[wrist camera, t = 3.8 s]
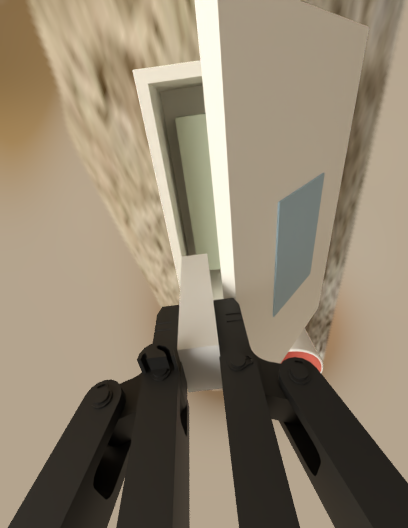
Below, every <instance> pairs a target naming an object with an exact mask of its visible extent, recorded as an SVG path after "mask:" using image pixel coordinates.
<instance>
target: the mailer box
mask: <svg viewBox="0 0 408 528" xmlns="http://www.w3.org/2000/svg"><path fill="white" fill-rule="evenodd" d="M133 74H134V79H135V84H136V88H137V93H138V97H139V102H140V107H141V111H142V116H143V121H144V125H145V130H146V134H147V139H148V144H149V148H150V153H151V157H152V162H153V167H154V171H155V176H156V181H157V185H158V190H159V194H160V199H161V204H162V208H163V213H164V217H165V222H166V227H167V231H168V236H169V240H170V245H171V250H172V254H173V259H174V264H175V268H176V273H177V277H178V282H179V287H180V283H181V263H182V257H183V256H191V255H198V254H206V253H207V256H208V263H209V271H210V279H211V287H212V295H213V300H218V299H224V298H223V288H222V277H221V267H220V257H219V246H218V236H217V226H216V215H215V205H214V195H213V185H212V174H211V164H210V154H209V143H208V133H207V123H206V112H205V102H204V92H203V81H202V71H201V61H200V60H199V61H192V62H185V63H178V64H171V65H164V66H157V67H150V68H143V69H136V70H133Z"/></svg>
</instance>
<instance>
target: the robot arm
mask: <svg viewBox="0 0 408 528" xmlns="http://www.w3.org/2000/svg"><path fill="white" fill-rule="evenodd" d="M137 361H138V363H139V366H140V368H141V371H142V373H141V374H139V375H138V376H136V377H134V378H133V379H130V380H128V381H126V382H123V383H121V384H118V382H116V381H114V380H104V381H102V382H99V383H98V384H96V385H95V386H94V387H92V388H91V389H90V390H89V391H88V393H87V394H86V395H85V397H84V399H83V401H82V402H81V404H80V406H79V407H78V409H77V411H76V412H75V414H74V416H73V418H72V419H71V421H70V423H69V424H68V426H67V428H66V429H65V431H64V433H63V434H62V436H61V438H60V440H59V441H58V443H57V445H56V446H55V448H54V450H53V452H52V453H51V455H50V457H49V458H48V460H47V462H46V463H45V465H44V467H43V469H42V470H41V472H40V474H39V475H38V477H37V479H36V481H35V482H34V484H33V486H32V487H31V489H30V491H29V492H28V494H27V496H26V498H25V500H24V501H23V503H22V504H21V506H20V508H19V509H18V511H17V513H16V515H15V516H14V518H13V520H12V521H11V523H10V525H9V527H8V528H107V526H108V523H109V520H110V517H111V515H112V512H113V509H114V506H115V503H116V500H117V497H118V495H119V492H120V489H121V486H122V484H123V481H124V478H125V481H124V487H123V492H122V498H121V504H120V510H119V516H118V521H117V527H116V528H189V405H188V400H187V388H188V392H195V391H203V390H213V389H221V388H223V395H224V403H225V412H226V419H227V428H228V437H229V446H230V454H231V463H232V471H233V479H234V487H235V496H236V505H237V513H238V521H239V528H300V526H299V522H298V518H297V515H296V511H295V507H294V504H293V499H292V495H291V492H290V488H289V484H288V480H287V476H286V473H285V469H284V465H283V461H282V457H281V454H280V450H279V446H278V442H277V438H276V435H275V431H274V427H273V424H272V420H271V419H275V420H279V422H280V424H281V426H282V428H283V430H284V431H285V433H286V435H287V437H288V439H289V441H290V443H291V445H292V446H293V449H294V450H295V452H296V454H297V456H298V458H299V460H300V462H301V464H302V466H303V468H304V469H305V471H306V473H307V475H308V477H309V479H310V481H311V483H312V485H313V486H314V489H315V490H316V492H317V494H318V496H319V498H320V500H321V502H322V504H323V506H324V508H325V510H326V511H327V513H328V515H329V517H330V519H331V521H332V523H333V525H334V527H335V528H408V483H407V482H406V481H405V479H404V478H403V477H402V475H401V474H400V473H399V472H398V470H397V469H396V468H395V467H394V465H393V464H392V463H391V461H390V460H389V459H388V458H387V457H386V455H385V454H384V453H383V451H382V450H381V449H380V448H379V446H378V445H377V444H376V442H375V441H374V440H373V439H372V438H371V436H370V435H369V434H368V432H367V431H366V430H365V429H364V427H363V426H362V425H361V423H360V422H359V421H358V420H357V418H355V416H354V415H353V413H352V412H351V411H350V410H349V408H348V407H347V406H346V404H345V403H344V402H343V401H342V399H341V398H340V397H339V396H338V394H337V393H336V392H335V391H334V389H333V388H332V387H331V386H330V385H329V383H328V382H327V380H326V379H325V378H324V377H323V375H322V374H321V373H320V372H319V370H318V369H317V368H316V367H315V366H314V365H313V364H312V363H311V362H309V361H307V360H305V359H303V358H298V357H292V358H288V359H286V360H284V361H283V362H282V363H281V364H280V363H275V362H269V361H266V360H263V359H261V358H259V357H258V356H257V355H255V354H254V352H253V351H252V350H251V347H250V344H249V340H248V336H247V333H246V329H245V325H244V321H243V317H242V314H241V309H240V305H239V303H238V302H237V301H236V300H235V299H234V298H226V299H218V300H213V295H212V287H211V279H210V271H209V263H208V256H207V253H206V254H198V255H191V256H183V257H182V263H181V283H180V303H179V305H175V306H166V307H162V308H161V310H160V311H159V313H158V315H157V320H156V326H155V333H154V339H153V344H151V345H149V346H147V347H146V348H144V349H143V350H142V352H141V353H140V354H139V356H138V359H137Z"/></svg>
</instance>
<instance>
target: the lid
mask: <svg viewBox="0 0 408 528" xmlns="http://www.w3.org/2000/svg"><path fill="white" fill-rule="evenodd" d="M195 9H196V20H197V30H198V40H199V51H200V61H201V71H202V81H203V92H204V102H205V112H206V123H207V133H208V143H209V154H210V164H211V174H212V185H213V195H214V205H215V215H216V226H217V236H218V246H219V257H220V267H221V277H222V288H223V298H224V299H226V298H234V299H235V300H236V301H237V302H238V303H239V305H240V309H241V314H242V317H243V321H244V325H245V329H246V333H247V336H248V340H249V344H250V347H251V350H252V351H253V352H254V354H255V355H257V356H258V357H259V358H261V359H263V360H266V361H269V362H275V363H281V362H282V360H283V359H284V358H285V356H286V355H287V353H288V352H289V350H290V349H291V347H292V346H293V344H294V343H295V341H296V340H297V338H298V337H299V336H300V334H301V333H302V331H303V330H304V328H305V327H306V325H307V324H308V322H309V321H310V319H311V318H312V317H313V315H314V314H315V312H316V311H317V309H318V307H319V302H320V296H321V291H322V285H323V280H324V274H325V269H326V263H327V258H328V252H329V247H330V241H331V236H332V230H333V225H334V219H335V214H336V208H337V203H338V197H339V192H340V186H341V181H342V175H343V170H344V164H345V159H346V153H347V148H348V142H349V137H350V131H351V126H352V120H353V115H354V109H355V104H356V98H357V93H358V87H359V82H360V76H361V71H362V65H363V60H364V54H365V49H366V43H367V38H368V32H369V27H368V26H366V25H363V24H361V23H358V22H355V21H353V20H350V19H347V18H345V17H342V16H340V15H337V14H334V13H332V12H329V11H326V10H324V9H321V8H319V7H316V6H313V5H311V4H308V3H306V2H303V1H300V0H195Z"/></svg>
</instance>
